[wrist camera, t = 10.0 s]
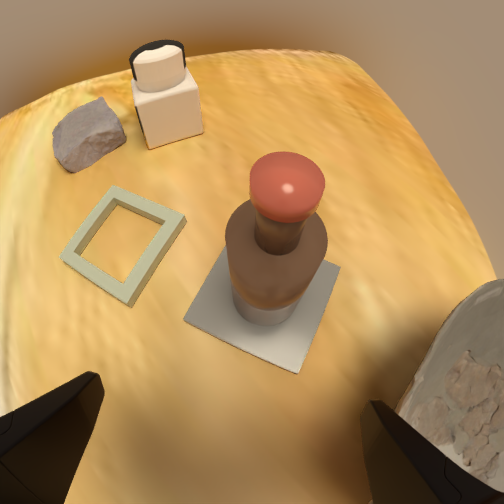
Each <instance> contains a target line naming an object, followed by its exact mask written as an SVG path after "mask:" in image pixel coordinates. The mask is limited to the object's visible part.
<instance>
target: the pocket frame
mask: <svg viewBox="0 0 504 504" xmlns="http://www.w3.org/2000/svg"><path fill="white" fill-rule="evenodd" d="M117 204H118V205H120V206H123V207H125V208H127V209H129V210H131V211H133V212H136V213H138V214H140V215H142V216H144V217H147V218H149V219H151V220H153V221H155V222H157V223H160V224H162V227H161V228H160V229H159V231H158V232H157V234H156V235H155V237H154V238H153V240H152V241H151V242H150V244H149V245H148V247H147V248H146V250H145V251H144V253H143V254H142V256H141V257H140V259H139V260H138V262H137V263H136V265H135V266H134V268H133V269H132V271H131V273H130V274H129V276H128V277H127V279H126V280H125V282H124V284H123V283H121V282H119V281H118V280H116V279H114V278H113V277H111V276H110V275H108V274H107V273H105V272H103V271H102V270H100V269H99V268H97V267H96V266H94V265H93V264H91V263H89V262H88V261H86V260H85V259H83V258H82V257H80V255H81V253H82V252H83V250H84V249H85V247H86V246H87V244H88V243H89V242H90V240H91V239H92V237H93V236H94V235H95V233H96V232H97V230H98V229H99V228H100V226H101V225H102V224H103V222H104V221H105V220H106V218H107V217H108V216H109V214H110V213H111V212H112V210H113V209H114V208H115V207H116V205H117ZM186 222H187V221H186V218H185V215H184V214H181V213H179V212H177V211H174V210H172V209H169V208H167V207H165V206H162V205H160V204H158V203H155V202H153V201H150V200H148V199H146V198H143V197H141V196H139V195H136V194H134V193H131V192H129V191H127V190H124V189H122V188H119V187H117V186H115V185H112V187H111V188H110V189H109V190H108V191H107V193H106V194H105V195H104V196H103V197H102V199H101V200H100V201H99V202H98V204H97V205H96V206H95V207H94V209H93V210H92V211H91V213H90V214H89V215H88V217H87V218H86V219H85V221H84V222H83V223H82V225H81V226H80V227H79V229H78V230H77V231H76V233H75V234H74V236H73V237H72V238H71V240H70V241H69V243H68V244H67V246H66V247H65V249H64V250H63V252H62V253H61V254H60V256H59V258H60V259H61V260H63V261H64V262H65V263H66V264H68V265H69V266H70V267H72V268H73V269H74V270H76V271H77V272H79V273H80V274H81V275H83V276H84V277H86V278H87V279H88V280H90V281H91V282H93V283H94V284H96V285H97V286H99V287H100V288H102V289H103V290H105V291H106V292H108V293H109V294H111V295H112V296H114V297H115V298H117V299H118V300H120V301H121V302H123V303H125V304H126V305H128V306H129V307H131V308H132V307H133V305H134V303H135V302H136V300H137V298H138V297H139V295H140V293H141V292H142V290H143V288H144V287H145V285H146V284H147V282H148V280H149V279H150V277H151V276H152V274H153V272H154V271H155V269H156V268H157V266H158V265H159V263H160V262H161V260H162V258H163V257H164V255H165V254H166V252H167V251H168V249H169V248H170V246H171V245H172V243H173V242H174V240H175V239H176V237H177V236H178V234H179V233H180V231H181V230H182V228H183V227H184V225H185V224H186Z"/></svg>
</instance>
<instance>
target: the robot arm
mask: <svg viewBox="0 0 504 504" xmlns="http://www.w3.org/2000/svg"><path fill="white" fill-rule="evenodd" d="M104 394H105V392H104V387H103V384H102V381H101V378H100V375H99V374H97V373H94V372H91V371H87V372H85V373H83V374H81V375H80V376H78V377H76V378H74V379H72V380H70V381H69V382H67V383H65V384H63V385H61V386H59V387H57V388H56V389H54V390H52V391H50V392H48V393H46V394H44V395H42V396H40V397H39V398H37V399H35V400H33V401H31V402H29V403H27V404H25V405H23V406H21V407H20V408H18V409H16V410H14V411H12V412H10V413H8V414H6V415H4V416H2V417H0V504H64V502H65V499H66V496H67V494H68V491H69V488H70V486H71V483H72V480H73V478H74V475H75V473H76V470H77V468H78V465H79V463H80V460H81V458H82V456H83V453H84V451H85V448H86V446H87V444H88V441H89V439H90V437H91V435H92V432H93V430H94V427H95V424H96V420H97V417H98V414H99V411H100V407H101V404H102V401H103V398H104ZM360 424H361V433H362V443H363V454H364V461H365V466H366V470H367V475H368V480H369V485H370V490H371V496H372V501H373V504H504V492H500V491H498V490H495V489H494V488H492V487H490V486H489V485H487V484H485V483H484V482H482V481H480V480H479V479H477V478H476V477H474V476H473V475H471V474H470V473H468V472H467V471H465V470H464V469H462V468H461V467H460V466H459V465H457V464H456V463H455V462H453V461H452V460H451V459H450V458H449V457H447V456H446V455H445V454H444V453H443V452H441V451H440V450H439V449H438V448H437V447H435V446H434V445H433V444H432V443H431V442H430V441H428V440H427V439H426V438H425V437H424V436H422V435H421V434H420V433H419V432H418V431H417V430H415V429H414V428H413V427H412V426H411V425H410V424H409V423H407V422H406V421H405V420H404V419H403V418H402V417H400V416H399V415H398V414H397V413H396V412H395V411H394V410H392V409H391V408H390V407H389V406H388V405H387V404H386V403H384V402H383V401H382V400H381V399H371V400H369V401H368V402H367V404H366V406H365V408H364V410H363V412H362V414H361V417H360Z"/></svg>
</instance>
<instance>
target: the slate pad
mask: <svg viewBox="0 0 504 504" xmlns="http://www.w3.org/2000/svg"><path fill="white" fill-rule="evenodd" d="M340 268H341V267H339V266H337V265H335V264H333V263H330V262H328V261H326V260H323V261H322V262H321V264H320V266H319V268H318V270H317V272H316V273H315V275H314V277H313V279H312V281H311V282H310V284H309V286H308V288H307V289H306V291H305V293H304V295H303V296H302V298H301V300H300V302H299V303H298V305H297V307H296V309H295V310H294V312H293V313H292V315H291V316H290V317H289V318H288V319H286V320H285V321H283V322H282V323H280V324H277V325H273V326H258V325H255V324H252V323H250V322H248V321H247V320H245V319H244V318H243V317H242V316H241V315H240V314H239V313H238V311H237V310H236V308H235V305H234V302H233V297H232V289H231V282H230V274H229V266H228V257H227V249H226V246H225V247H224V249H223V251H222V252H221V254H220V256H219V258H218V259H217V261H216V263H215V264H214V266H213V268H212V270H211V271H210V273H209V275H208V276H207V278H206V280H205V282H204V283H203V285H202V287H201V288H200V290H199V292H198V294H197V295H196V297H195V299H194V301H193V302H192V304H191V306H190V308H189V309H188V311H187V313H186V315H185V316H184V318H183V320H184V321H185V322H187V323H189V324H191V325H193V326H195V327H197V328H199V329H201V330H202V331H204V332H206V333H208V334H210V335H212V336H214V337H216V338H218V339H220V340H222V341H224V342H226V343H228V344H230V345H232V346H235V347H237V348H239V349H241V350H243V351H245V352H247V353H249V354H252V355H254V356H256V357H258V358H260V359H262V360H265V361H267V362H269V363H271V364H274V365H276V366H278V367H281V368H283V369H285V370H288V371H290V372H292V373H295V374H298V372H299V370H300V368H301V366H302V364H303V361H304V359H305V357H306V354H307V352H308V350H309V347H310V345H311V343H312V340H313V338H314V336H315V333H316V331H317V328H318V326H319V323H320V321H321V318H322V316H323V313H324V311H325V308H326V306H327V303H328V300H329V298H330V295H331V292H332V290H333V287H334V284H335V282H336V279H337V276H338V273H339V270H340Z"/></svg>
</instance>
